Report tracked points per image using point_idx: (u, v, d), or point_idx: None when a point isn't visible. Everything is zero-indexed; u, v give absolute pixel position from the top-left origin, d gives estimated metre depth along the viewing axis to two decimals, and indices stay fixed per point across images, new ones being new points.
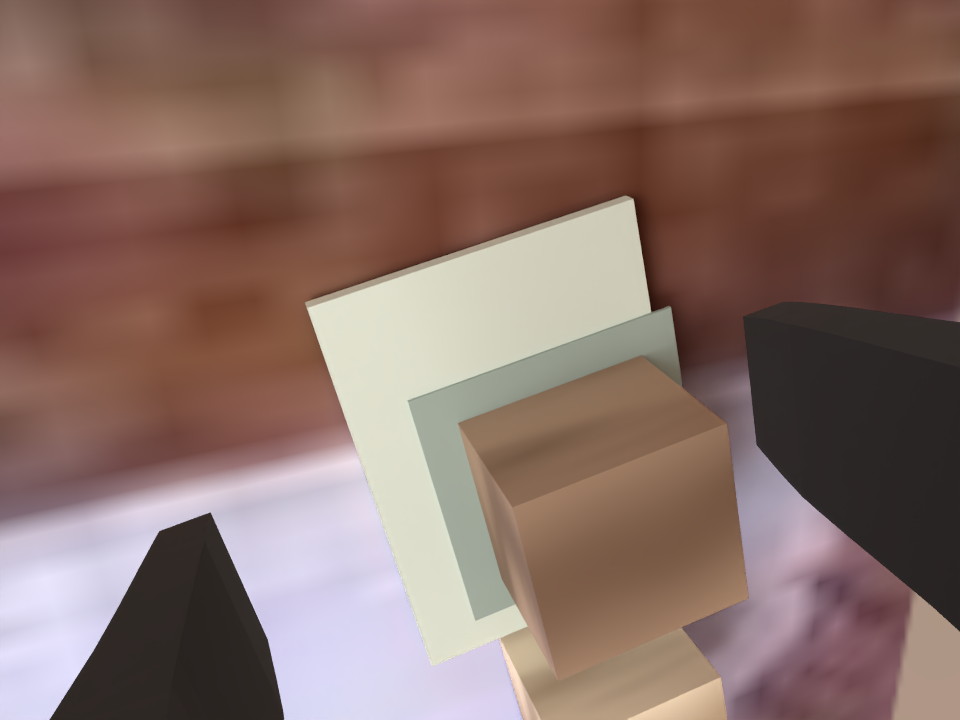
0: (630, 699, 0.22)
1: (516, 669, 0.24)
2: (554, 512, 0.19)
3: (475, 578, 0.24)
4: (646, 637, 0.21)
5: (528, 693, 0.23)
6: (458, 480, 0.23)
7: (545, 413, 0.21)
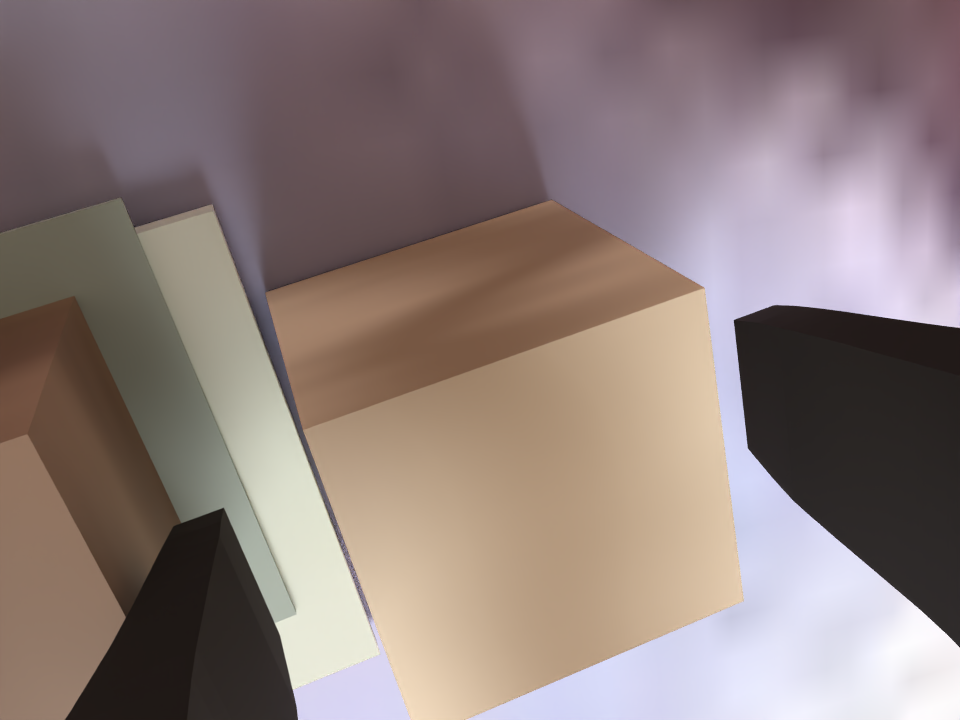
0: None
1: None
2: None
3: None
4: None
5: None
6: None
7: None
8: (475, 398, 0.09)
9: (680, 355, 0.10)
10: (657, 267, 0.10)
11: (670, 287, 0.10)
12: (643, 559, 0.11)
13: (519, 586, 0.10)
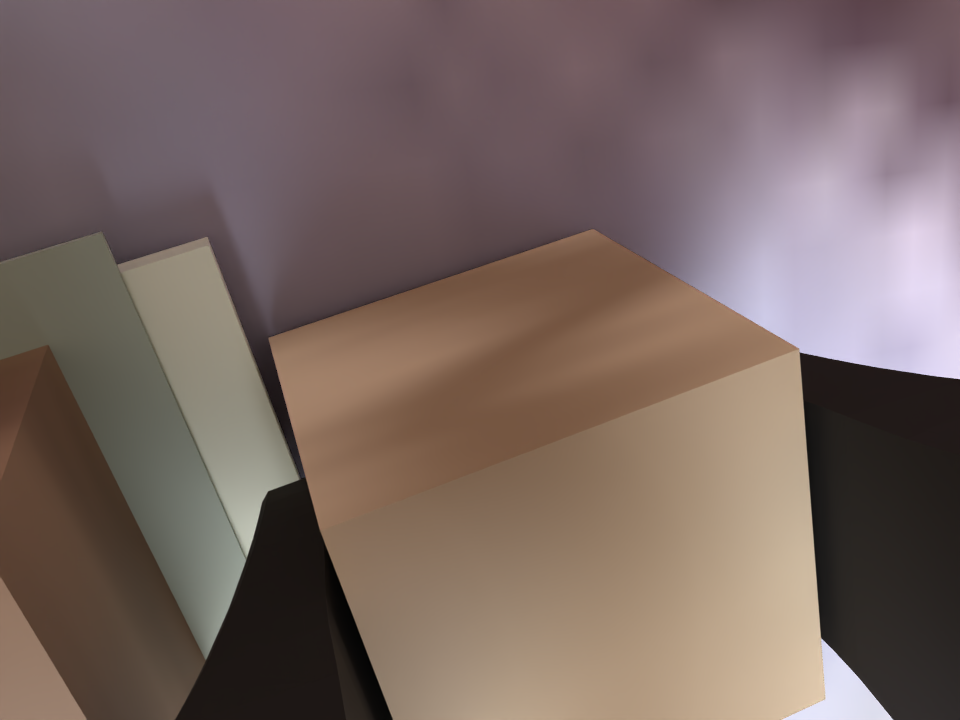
0: None
1: None
2: None
3: None
4: None
5: None
6: None
7: None
8: (527, 486, 0.08)
9: (768, 427, 0.08)
10: (735, 319, 0.09)
11: (756, 347, 0.08)
12: (715, 659, 0.09)
13: (573, 696, 0.09)
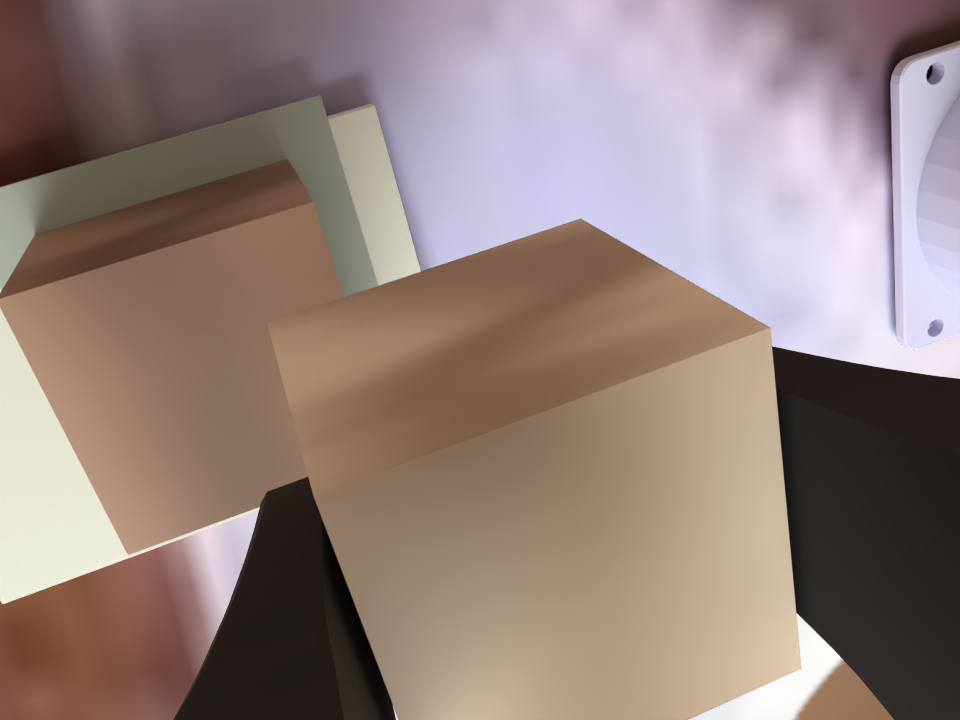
0: None
1: None
2: (137, 507, 0.15)
3: None
4: None
5: None
6: None
7: None
8: (511, 456, 0.08)
9: (741, 403, 0.09)
10: (711, 301, 0.09)
11: (730, 326, 0.09)
12: (694, 627, 0.10)
13: (556, 661, 0.09)
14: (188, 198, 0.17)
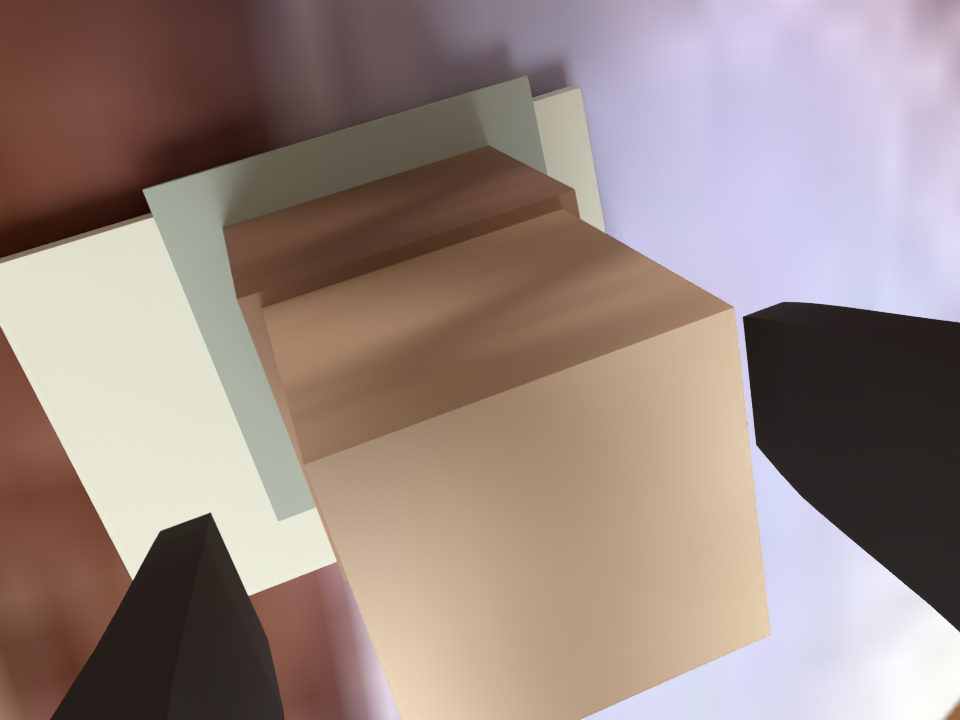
0: None
1: None
2: None
3: None
4: None
5: None
6: None
7: None
8: (490, 428, 0.09)
9: (707, 379, 0.09)
10: (681, 284, 0.10)
11: (696, 306, 0.09)
12: (667, 594, 0.10)
13: (534, 624, 0.10)
14: (395, 187, 0.15)
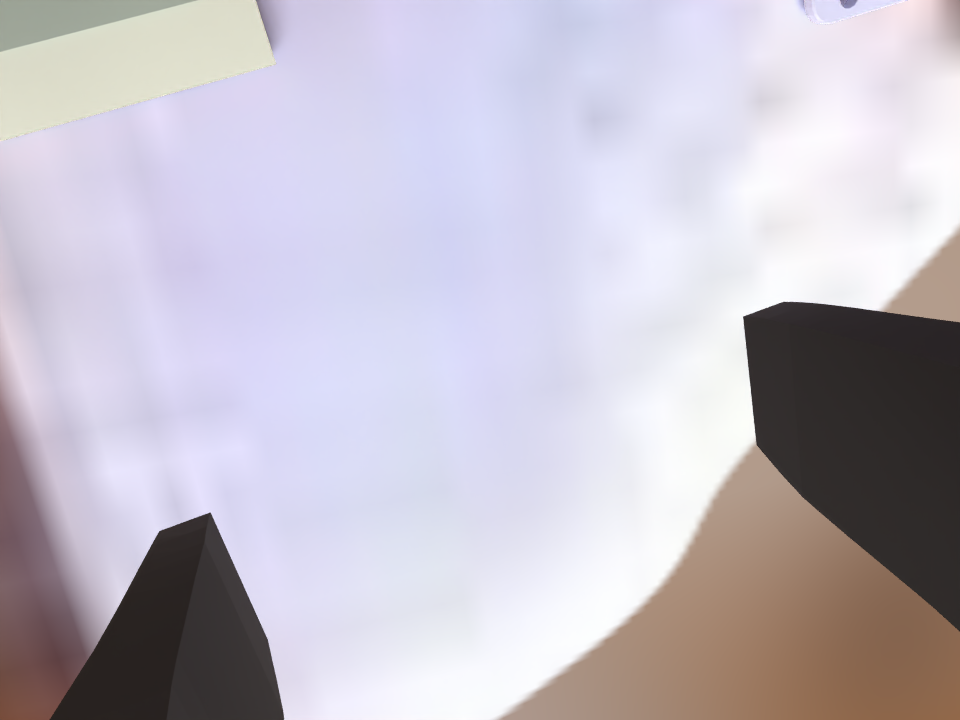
0: None
1: None
2: None
3: None
4: None
5: None
6: None
7: None
8: None
9: None
10: None
11: None
12: None
13: None
14: None
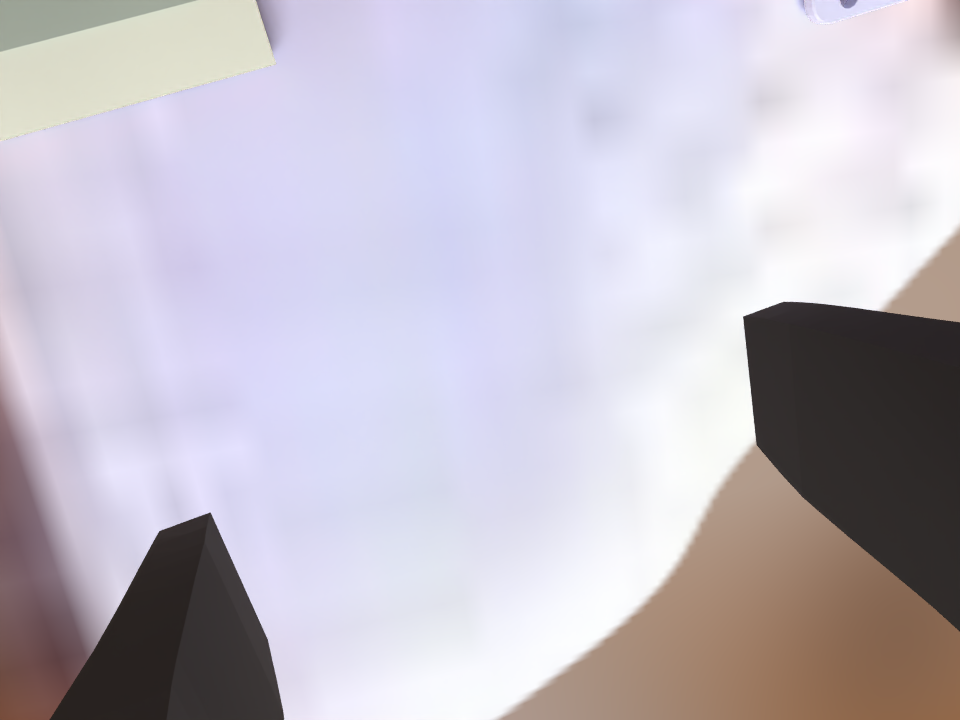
0: None
1: None
2: None
3: None
4: None
5: None
6: None
7: None
8: None
9: None
10: None
11: None
12: None
13: None
14: None
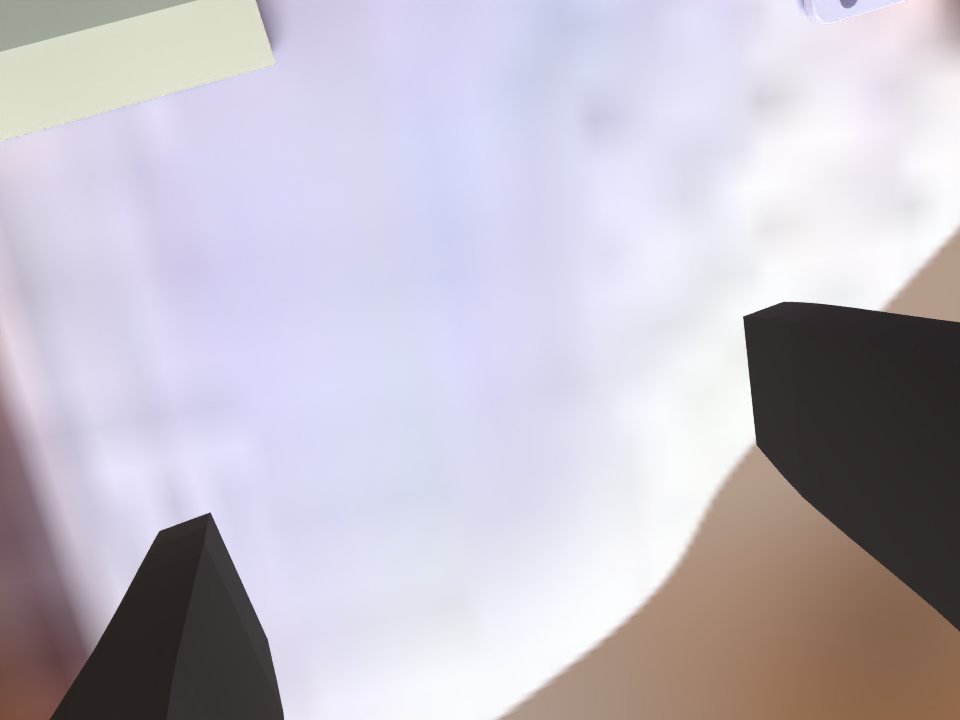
0: None
1: None
2: None
3: None
4: None
5: None
6: None
7: None
8: None
9: None
10: None
11: None
12: None
13: None
14: None
